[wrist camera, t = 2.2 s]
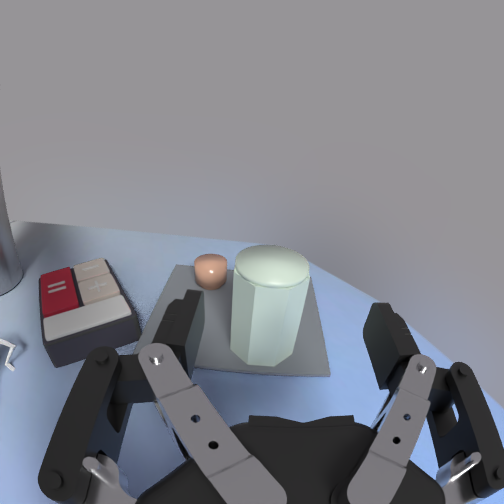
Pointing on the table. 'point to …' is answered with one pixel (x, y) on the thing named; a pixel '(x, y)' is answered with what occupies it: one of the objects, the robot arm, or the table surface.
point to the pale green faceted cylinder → (267, 303)
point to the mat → (219, 330)
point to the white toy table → (12, 347)
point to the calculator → (84, 312)
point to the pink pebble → (210, 271)
